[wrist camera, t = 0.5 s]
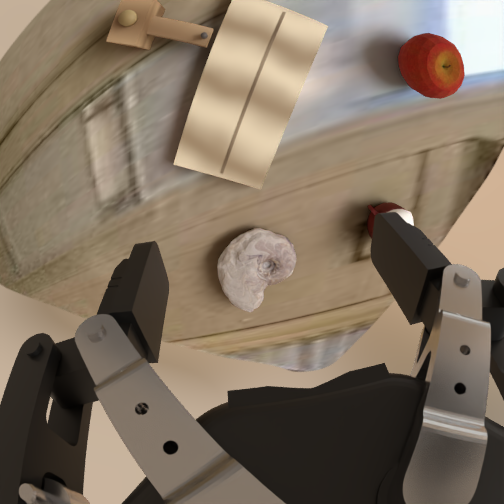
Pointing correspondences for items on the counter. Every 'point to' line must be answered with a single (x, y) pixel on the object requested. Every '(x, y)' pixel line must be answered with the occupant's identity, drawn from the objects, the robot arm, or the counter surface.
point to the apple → (431, 65)
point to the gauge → (152, 26)
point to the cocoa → (385, 209)
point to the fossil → (254, 266)
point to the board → (248, 91)
